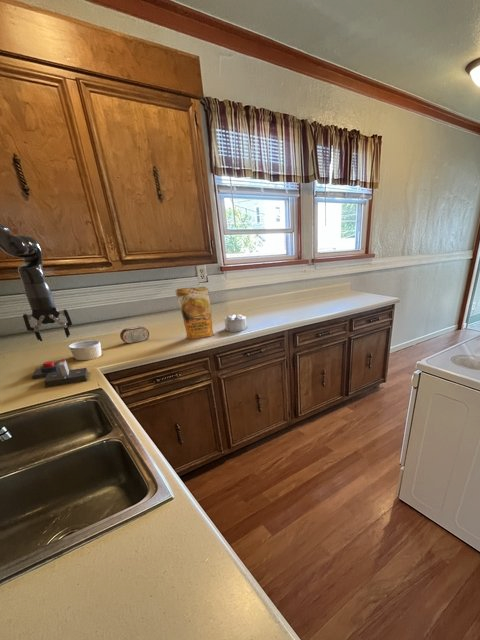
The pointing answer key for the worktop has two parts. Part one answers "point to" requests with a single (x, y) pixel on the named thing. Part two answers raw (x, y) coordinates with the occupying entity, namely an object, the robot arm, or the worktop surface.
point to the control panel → (66, 377)
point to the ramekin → (86, 350)
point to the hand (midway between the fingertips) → (54, 338)
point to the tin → (134, 334)
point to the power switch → (46, 371)
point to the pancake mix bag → (196, 311)
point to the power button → (48, 364)
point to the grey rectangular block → (64, 368)
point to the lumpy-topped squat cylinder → (235, 323)
